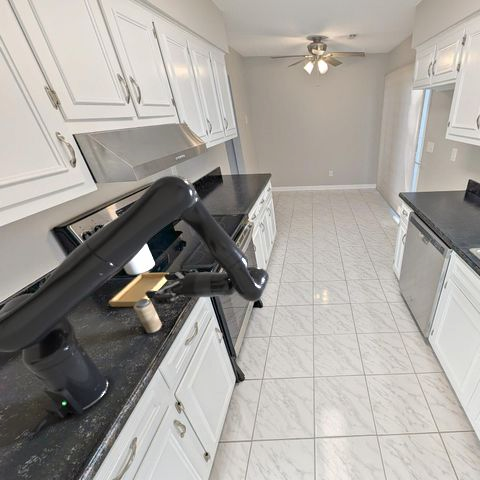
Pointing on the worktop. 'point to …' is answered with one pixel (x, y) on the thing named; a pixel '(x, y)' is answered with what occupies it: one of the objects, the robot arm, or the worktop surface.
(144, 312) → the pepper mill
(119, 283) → the worktop surface
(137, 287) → the tray
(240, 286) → the robot arm
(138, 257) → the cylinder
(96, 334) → the worktop surface
